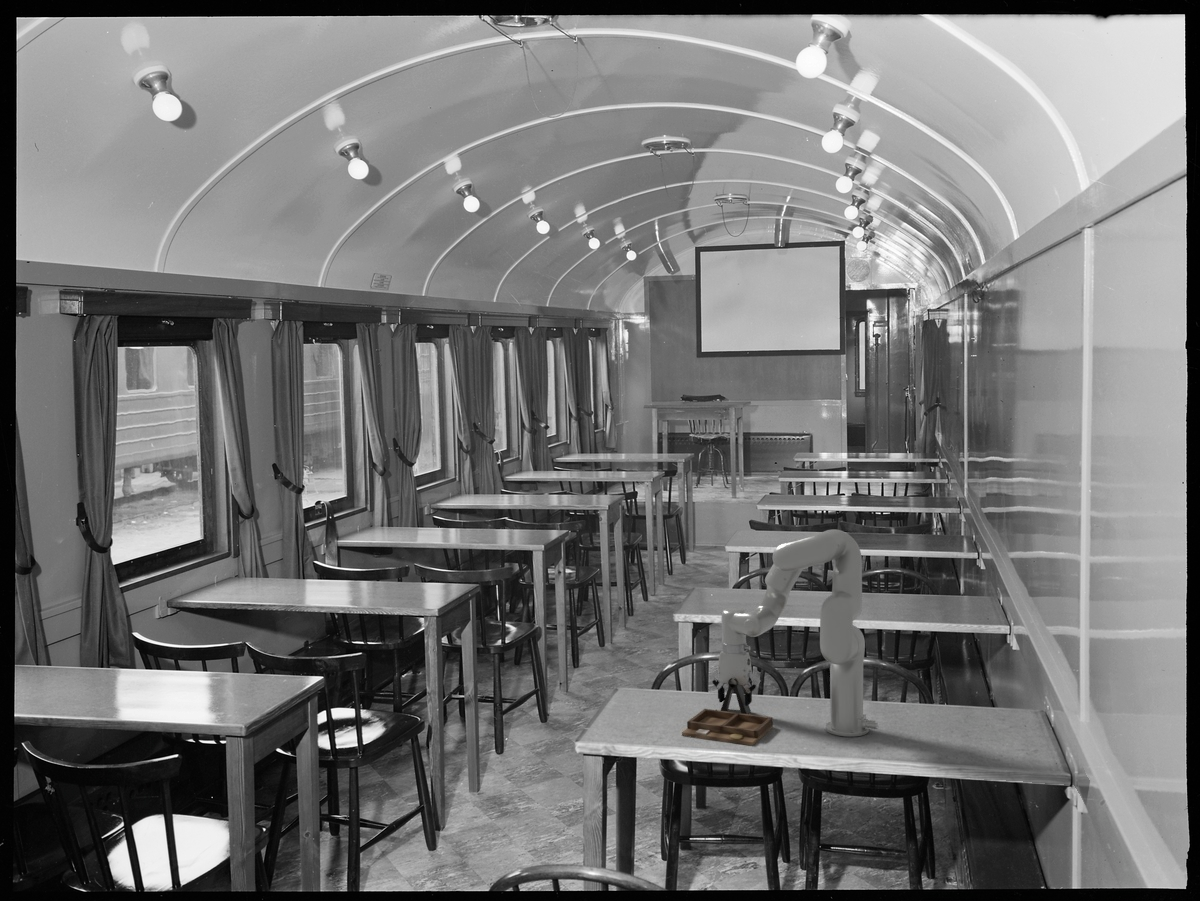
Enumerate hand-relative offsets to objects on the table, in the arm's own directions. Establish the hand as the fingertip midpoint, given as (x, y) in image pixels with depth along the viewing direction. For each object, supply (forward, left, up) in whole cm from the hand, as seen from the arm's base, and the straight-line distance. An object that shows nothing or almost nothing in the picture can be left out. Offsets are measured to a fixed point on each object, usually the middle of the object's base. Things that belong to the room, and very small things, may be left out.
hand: (734, 702), depth 336 cm
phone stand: (0, 0, -4) cm, 4 cm away
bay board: (-4, +17, -3) cm, 18 cm away
